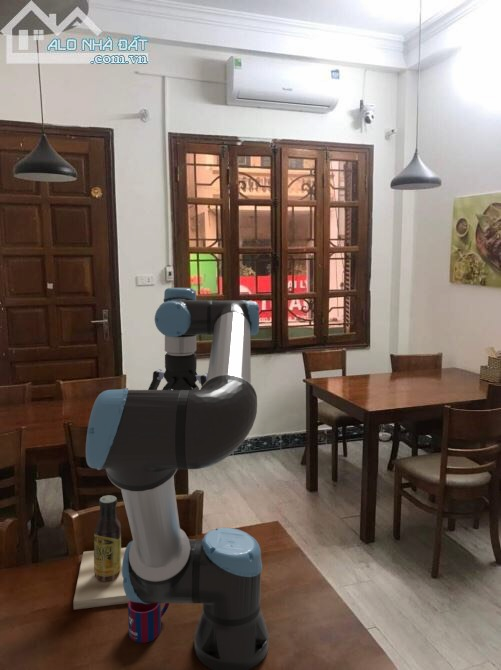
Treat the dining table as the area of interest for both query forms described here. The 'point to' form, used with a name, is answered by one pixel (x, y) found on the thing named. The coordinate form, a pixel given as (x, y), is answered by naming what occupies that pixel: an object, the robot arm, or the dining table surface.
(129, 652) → the dining table surface
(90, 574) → the birch board
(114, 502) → the sauce bottle
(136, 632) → the mug
